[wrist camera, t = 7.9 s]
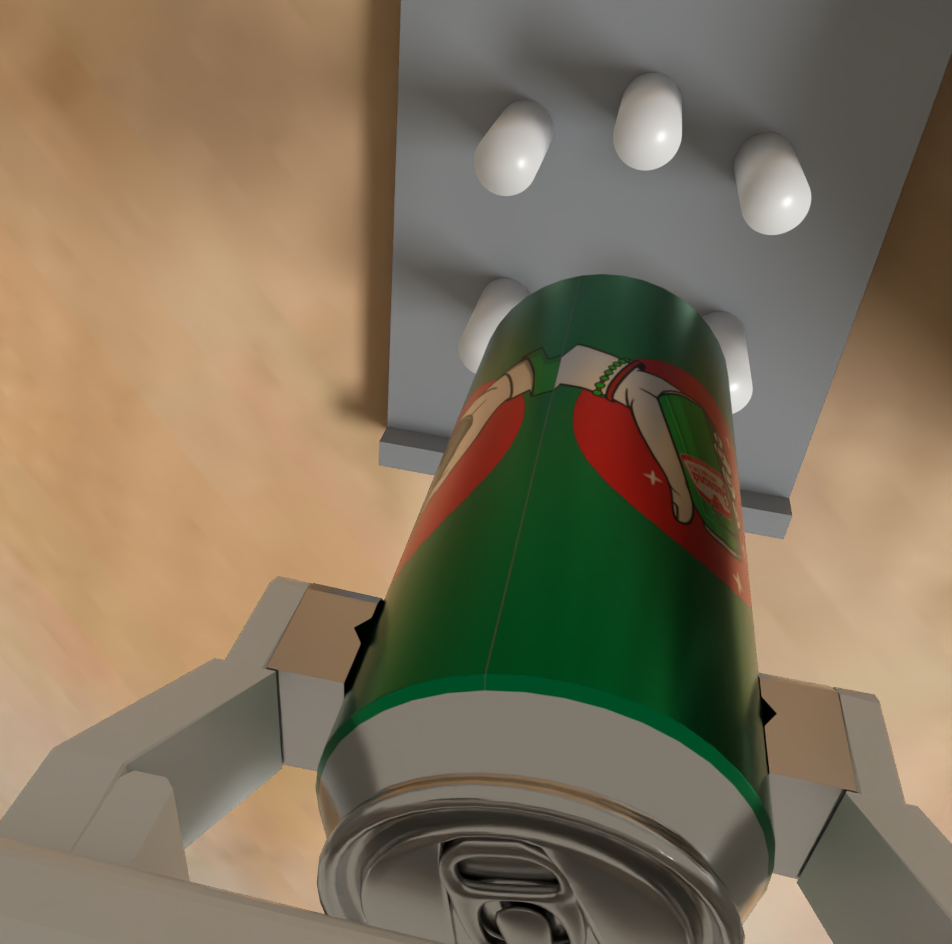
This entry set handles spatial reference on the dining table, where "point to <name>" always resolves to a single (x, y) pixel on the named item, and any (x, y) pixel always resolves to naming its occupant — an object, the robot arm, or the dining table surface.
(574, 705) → the soda can
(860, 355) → the dining table surface
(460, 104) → the tray
